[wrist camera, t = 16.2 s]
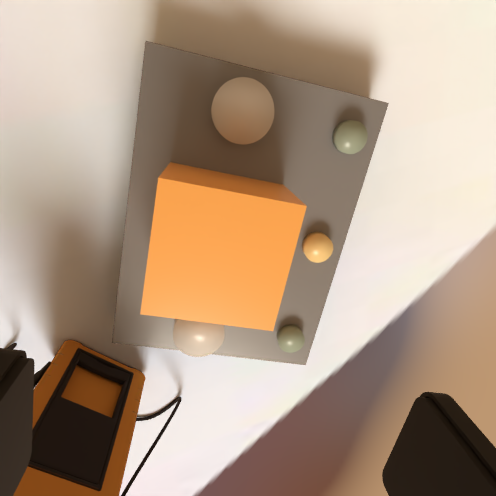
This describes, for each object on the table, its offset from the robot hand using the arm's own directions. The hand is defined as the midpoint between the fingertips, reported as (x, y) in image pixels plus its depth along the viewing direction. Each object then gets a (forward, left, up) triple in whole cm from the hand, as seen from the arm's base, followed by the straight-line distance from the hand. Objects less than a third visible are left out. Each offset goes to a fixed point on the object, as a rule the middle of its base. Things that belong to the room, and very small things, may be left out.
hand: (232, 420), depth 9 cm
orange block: (0, 0, -17) cm, 17 cm away
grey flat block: (0, +2, -20) cm, 20 cm away
